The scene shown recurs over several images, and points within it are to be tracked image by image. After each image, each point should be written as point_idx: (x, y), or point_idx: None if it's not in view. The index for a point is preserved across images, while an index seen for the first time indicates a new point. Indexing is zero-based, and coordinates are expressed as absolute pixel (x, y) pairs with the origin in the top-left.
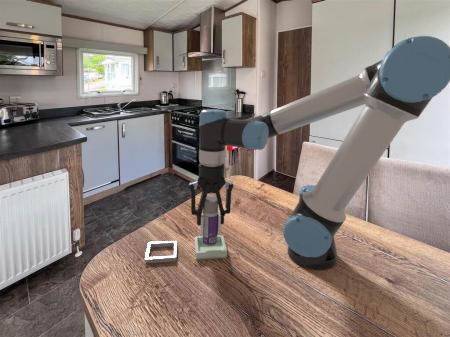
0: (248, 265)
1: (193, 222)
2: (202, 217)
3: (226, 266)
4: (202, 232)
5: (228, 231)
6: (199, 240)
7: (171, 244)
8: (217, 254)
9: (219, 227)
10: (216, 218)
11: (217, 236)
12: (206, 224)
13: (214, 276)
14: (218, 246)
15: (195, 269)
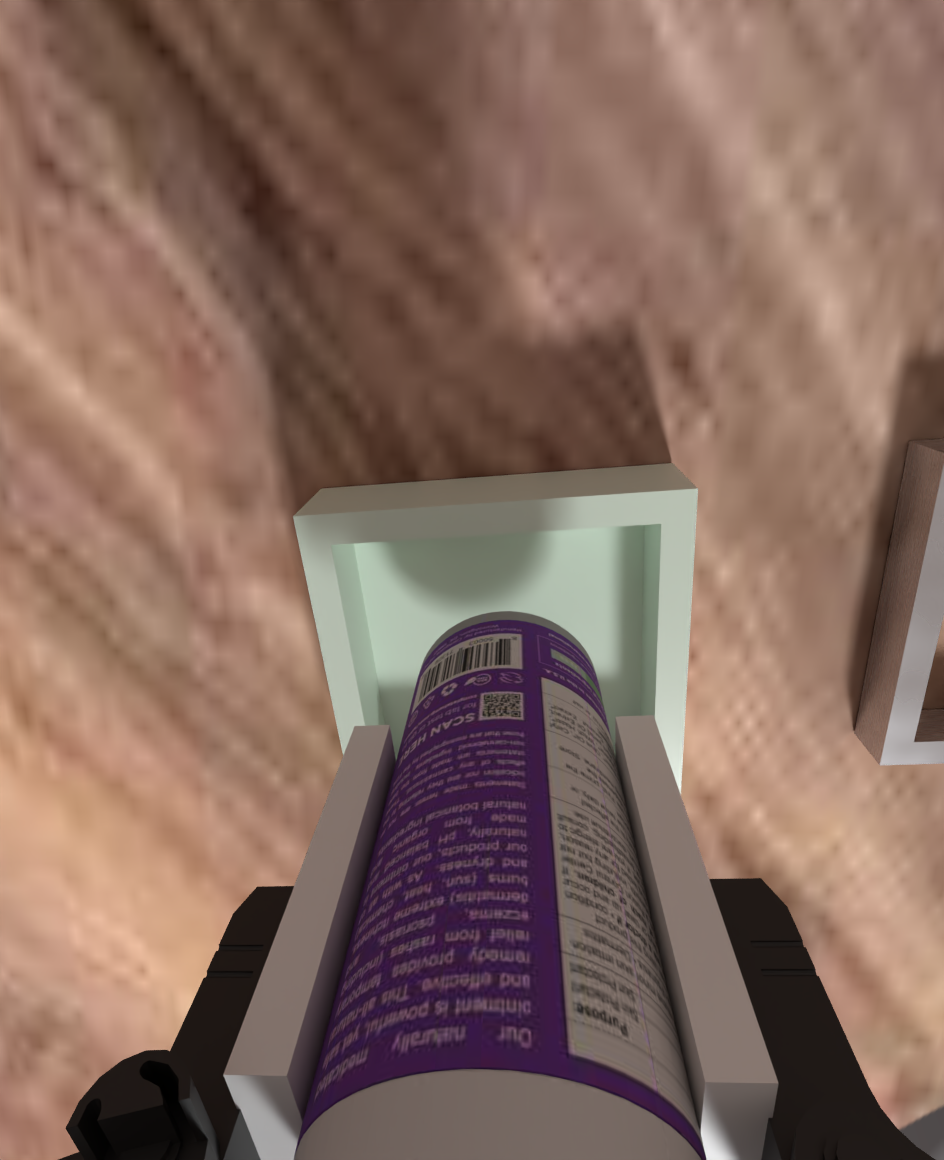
0: (71, 345)
1: None
2: (732, 1065)
3: (321, 331)
4: (638, 754)
5: None
6: None
7: (931, 724)
8: (419, 495)
9: (336, 820)
10: (349, 1012)
11: None
12: (593, 869)
13: (466, 116)
14: (412, 676)
15: (695, 275)
